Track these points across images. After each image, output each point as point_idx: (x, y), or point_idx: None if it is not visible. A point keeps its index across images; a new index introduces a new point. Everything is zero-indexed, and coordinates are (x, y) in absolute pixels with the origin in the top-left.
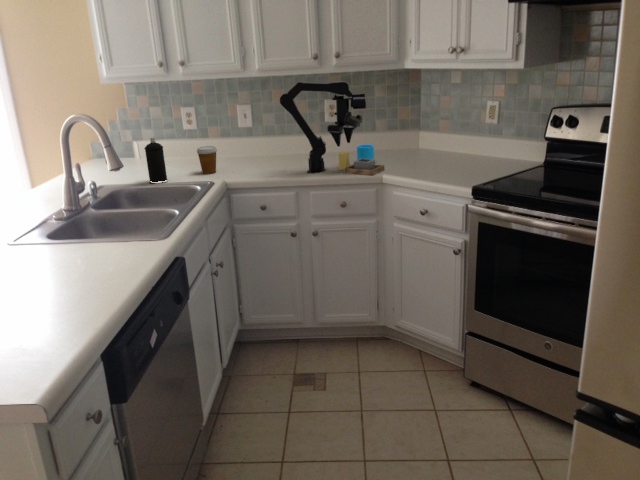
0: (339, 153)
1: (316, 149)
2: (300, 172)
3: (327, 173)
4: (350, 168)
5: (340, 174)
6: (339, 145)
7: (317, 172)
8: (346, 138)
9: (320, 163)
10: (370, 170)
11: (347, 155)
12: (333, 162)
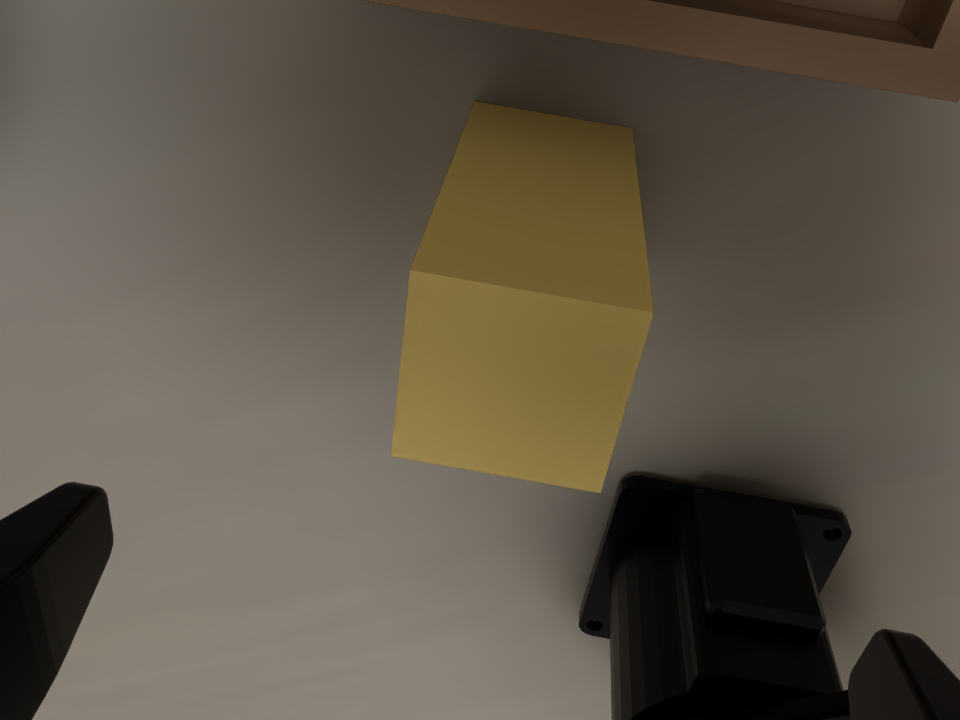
0: (605, 476)
1: None
2: None
3: (846, 392)
4: (739, 7)
5: (949, 141)
6: (939, 662)
7: (845, 535)
8: (26, 717)
9: (821, 618)
10: None
11: (531, 255)
12: None
